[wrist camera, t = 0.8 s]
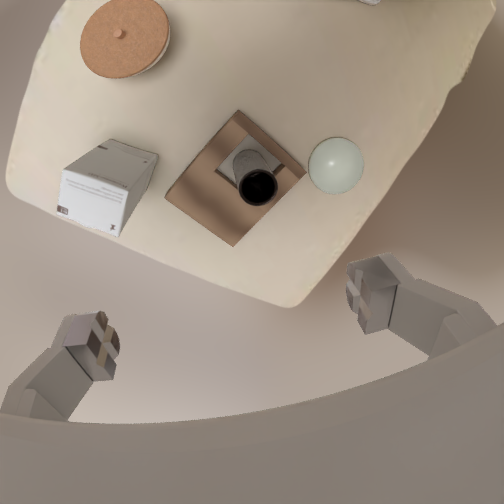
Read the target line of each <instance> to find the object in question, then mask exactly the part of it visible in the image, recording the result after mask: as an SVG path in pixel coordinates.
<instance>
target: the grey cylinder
mask: <svg viewBox="0 0 504 504" xmlns="http://www.w3.org/2000/svg"><path fill="white" fill-rule="evenodd" d="M233 170H234V174H235V178H236V183H237V187H238V191H239V194H240V197H241V198H242V200H243V201H244V202H246V203H247V204H249V205H252V206H263V205H266V204H268V203H269V202H271V201H272V200H273V199H274V197H275V196H276V194H277V191H278V182H277V180H276V178H275V176H274V174H273V173H272V171H271V170H270V168H269V167H268V165H267V163H266V162H265V160H264V159H263V157H262V156H261V155H260V154H259V153H258V152H256V151H254V150H244V151H242V152H240V153H239V154H237V156H236V157H235V159H234V161H233Z"/></svg>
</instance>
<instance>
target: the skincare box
mask: <svg viewBox="0 0 504 504" xmlns="http://www.w3.org/2000/svg"><path fill="white" fill-rule="evenodd" d="M157 158H158V155H157V154H154V153H149V152H146V151H143V150H140V149H137V148H134V147H131V146H128V145H125V144H122V143H120V142H117V141H115V140H112V139H109V140H107V141H105V142H104V143H102V144H101V145H99V146H97V147H96V148H94V149H93V150H91V151H90V152H88V153H86V154H85V155H83V156H82V157H80V158H79V159H78V160H76V161H75V162H73V163H72V164H70V165H69V166H67V167H66V168H64V169H63V172H62V177H61V183H60V191H59V198H58V206H57V215H59V216H62V217H65V218H68V219H71V220H73V221H76V222H78V223H79V224H81V225H82V226H85V227H87V228H95V229H98V230H101V231H103V232H106V233H109V234H111V235H113V236H115V237H119V236H120V233H121V231H122V229H123V228H124V226H125V224H126V222H127V221H128V219H129V217H130V216H131V214H132V212H133V211H134V209H135V207H136V206H137V204H138V202H139V201H140V199H141V198H142V196H143V194H144V193H145V191H146V190H147V188H148V185H149V182H150V179H151V176H152V173H153V170H154V167H155V164H156V161H157Z"/></svg>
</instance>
